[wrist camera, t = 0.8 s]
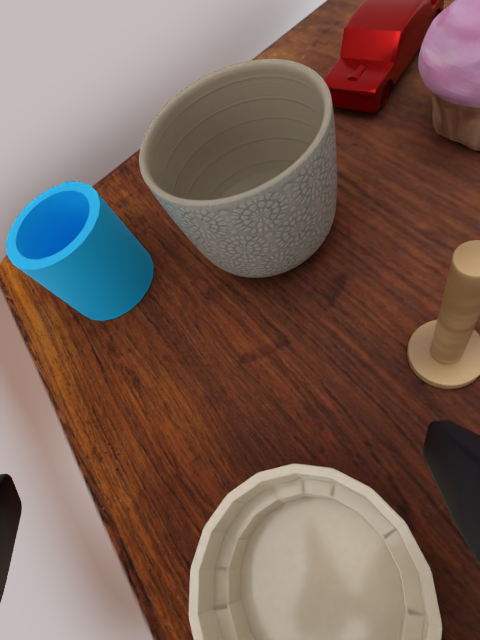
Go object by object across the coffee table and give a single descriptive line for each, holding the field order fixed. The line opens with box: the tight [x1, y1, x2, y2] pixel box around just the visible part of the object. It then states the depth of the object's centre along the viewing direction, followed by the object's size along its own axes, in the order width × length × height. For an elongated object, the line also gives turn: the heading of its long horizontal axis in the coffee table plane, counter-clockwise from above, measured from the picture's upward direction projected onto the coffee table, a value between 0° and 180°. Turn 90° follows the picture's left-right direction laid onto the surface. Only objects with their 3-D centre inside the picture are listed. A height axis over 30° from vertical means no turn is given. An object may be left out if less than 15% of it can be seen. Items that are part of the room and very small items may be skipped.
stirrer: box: [407, 240, 480, 389], centre depth 21 cm, size 4×4×11 cm
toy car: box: [324, 0, 444, 113], centre depth 37 cm, size 14×6×5 cm, turn 145°
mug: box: [6, 181, 154, 321], centre depth 35 cm, size 12×8×8 cm
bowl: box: [189, 463, 442, 640], centre depth 20 cm, size 11×11×5 cm
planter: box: [139, 59, 337, 278], centre depth 30 cm, size 12×12×11 cm
